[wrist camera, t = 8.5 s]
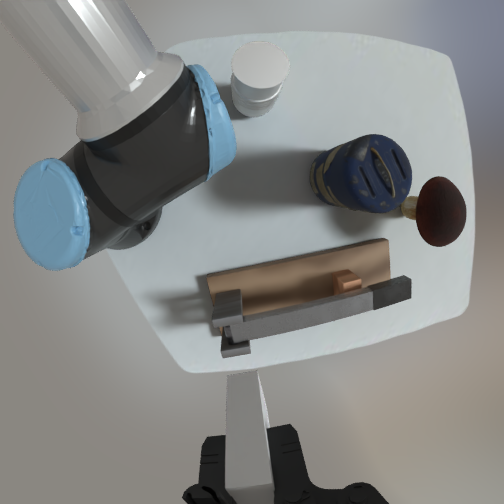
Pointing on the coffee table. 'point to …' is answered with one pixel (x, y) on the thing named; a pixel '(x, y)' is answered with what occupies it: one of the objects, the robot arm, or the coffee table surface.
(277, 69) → the white ribbed cylinder
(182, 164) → the robot arm
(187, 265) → the coffee table surface
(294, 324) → the lever
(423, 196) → the decorative mushroom
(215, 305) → the base
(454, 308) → the coffee table surface
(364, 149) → the canister
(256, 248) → the coffee table surface
